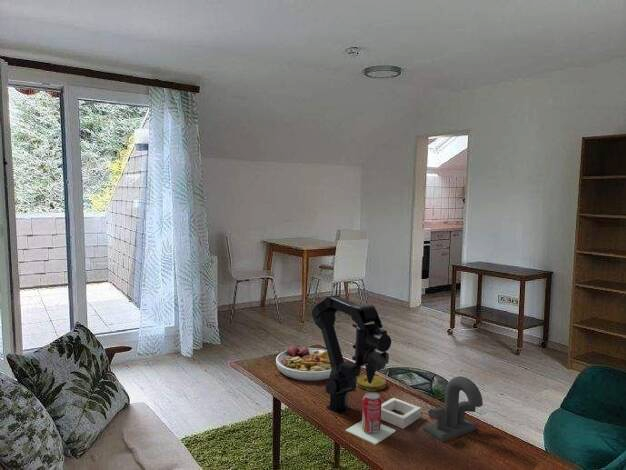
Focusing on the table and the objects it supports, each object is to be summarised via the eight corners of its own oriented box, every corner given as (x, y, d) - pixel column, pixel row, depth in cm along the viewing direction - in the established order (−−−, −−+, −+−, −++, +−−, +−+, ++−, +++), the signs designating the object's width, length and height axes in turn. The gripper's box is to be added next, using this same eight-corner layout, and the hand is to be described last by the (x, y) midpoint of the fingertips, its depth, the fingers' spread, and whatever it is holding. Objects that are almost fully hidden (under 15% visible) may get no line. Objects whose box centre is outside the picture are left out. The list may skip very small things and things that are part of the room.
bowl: (357, 371, 208) (358, 354, 208) (307, 390, 188) (308, 371, 187) (311, 353, 230) (311, 337, 229) (262, 368, 210) (262, 351, 209)
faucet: (458, 454, 144) (462, 391, 142) (421, 431, 158) (424, 373, 156) (496, 439, 154) (500, 380, 152) (458, 418, 167) (462, 364, 165)
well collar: (403, 428, 159) (403, 418, 158) (375, 416, 166) (375, 407, 166) (420, 417, 167) (420, 407, 167) (392, 406, 175) (393, 397, 174)
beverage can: (367, 423, 161) (369, 389, 160) (383, 429, 157) (385, 395, 156) (357, 430, 156) (359, 395, 155) (374, 437, 152) (375, 401, 151)
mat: (375, 444, 148) (375, 443, 148) (345, 431, 156) (345, 429, 156) (396, 431, 157) (396, 430, 157) (366, 418, 165) (366, 417, 165)
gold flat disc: (350, 384, 195) (350, 379, 195) (370, 377, 202) (370, 372, 202) (371, 394, 186) (372, 389, 185) (391, 387, 193) (392, 381, 193)
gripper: (367, 355, 146) (364, 403, 148) (399, 342, 160) (396, 386, 162) (339, 346, 154) (337, 392, 156) (372, 334, 168) (370, 376, 169)
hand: (361, 387), depth 160 cm, fingers open, 9 cm apart
